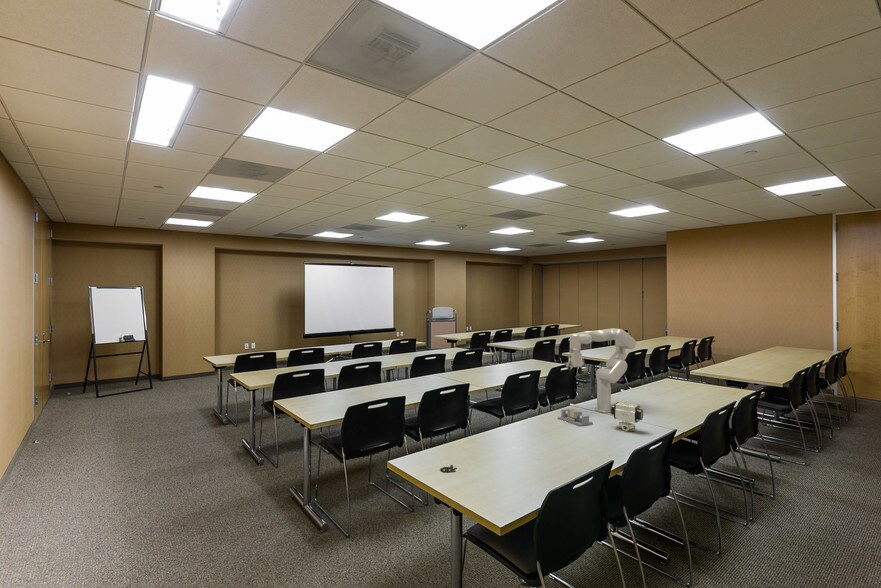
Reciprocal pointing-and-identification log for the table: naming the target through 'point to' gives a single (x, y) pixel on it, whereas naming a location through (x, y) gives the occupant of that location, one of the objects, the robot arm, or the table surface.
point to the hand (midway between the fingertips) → (575, 374)
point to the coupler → (575, 415)
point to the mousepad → (448, 469)
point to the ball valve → (627, 415)
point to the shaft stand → (565, 417)
